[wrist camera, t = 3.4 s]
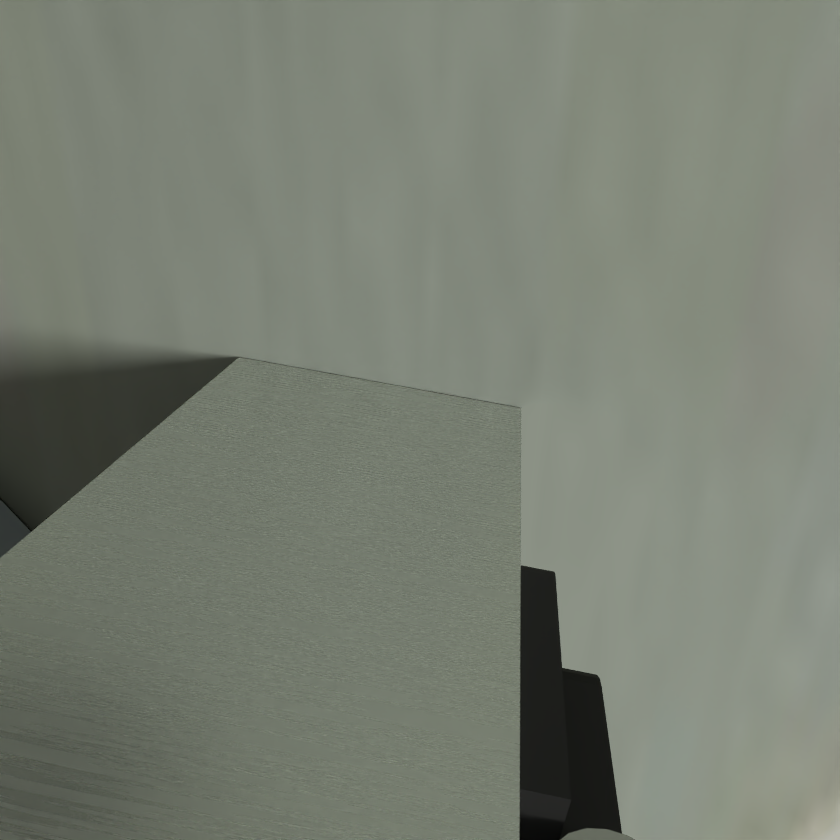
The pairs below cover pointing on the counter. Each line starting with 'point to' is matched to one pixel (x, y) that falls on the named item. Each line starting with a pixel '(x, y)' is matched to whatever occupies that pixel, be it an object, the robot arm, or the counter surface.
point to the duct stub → (274, 624)
